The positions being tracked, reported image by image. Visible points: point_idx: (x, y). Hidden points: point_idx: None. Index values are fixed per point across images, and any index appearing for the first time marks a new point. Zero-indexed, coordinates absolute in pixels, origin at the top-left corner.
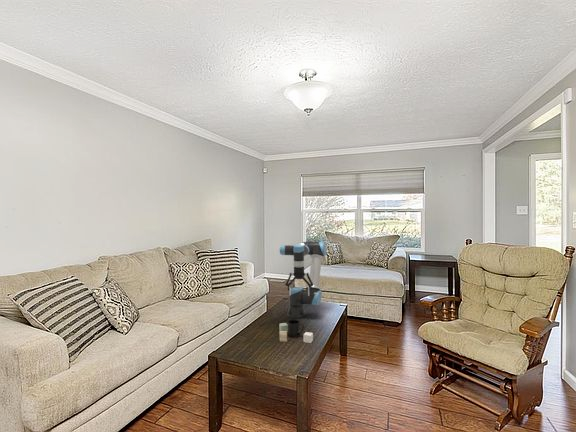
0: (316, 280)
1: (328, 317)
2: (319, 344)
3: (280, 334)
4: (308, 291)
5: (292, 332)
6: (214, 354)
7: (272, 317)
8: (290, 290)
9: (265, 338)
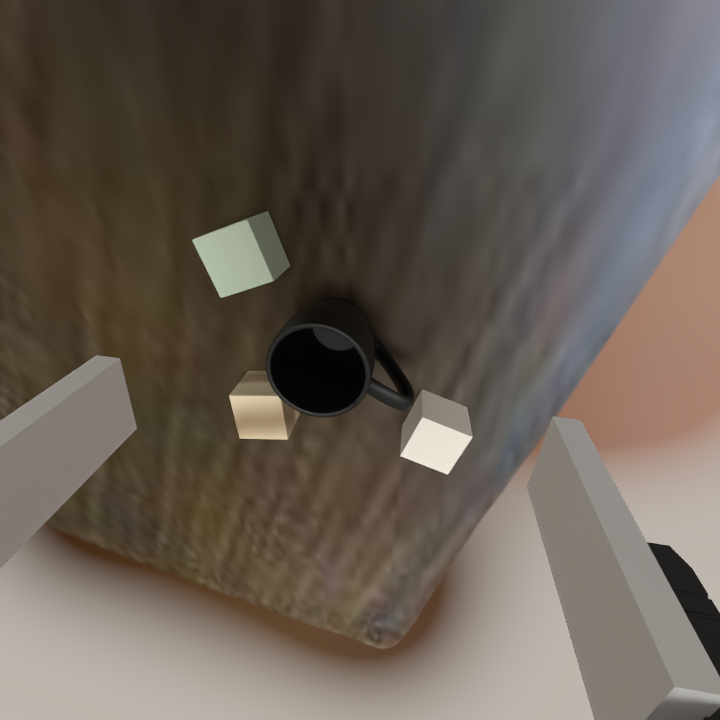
0: None
1: None
2: (496, 460)
3: (245, 437)
4: (565, 582)
5: (324, 373)
6: None
7: None
8: (48, 505)
9: (161, 366)
